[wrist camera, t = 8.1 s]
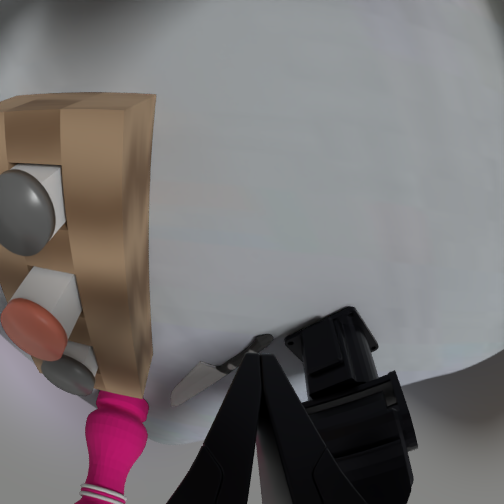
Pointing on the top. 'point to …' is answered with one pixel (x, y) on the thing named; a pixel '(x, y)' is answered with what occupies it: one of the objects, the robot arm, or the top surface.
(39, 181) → the plug
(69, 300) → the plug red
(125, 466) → the pepper mill
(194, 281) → the top surface
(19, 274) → the socket board
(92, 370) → the plug
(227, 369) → the chef's knife
